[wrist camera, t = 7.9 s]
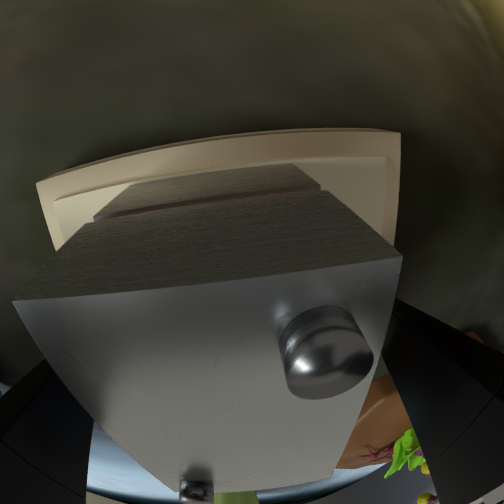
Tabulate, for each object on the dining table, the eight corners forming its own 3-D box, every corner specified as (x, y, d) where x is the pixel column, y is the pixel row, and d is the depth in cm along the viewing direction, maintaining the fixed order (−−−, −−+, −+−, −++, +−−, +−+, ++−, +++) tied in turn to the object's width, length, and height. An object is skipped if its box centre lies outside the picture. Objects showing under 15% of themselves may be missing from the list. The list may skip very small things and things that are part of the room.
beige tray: (61, 170, 10) (31, 185, 8) (374, 128, 10) (405, 134, 8) (126, 350, 14) (116, 381, 12) (359, 322, 15) (375, 351, 13)
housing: (183, 365, 12) (174, 506, 6) (129, 185, 8) (-10, 328, 2) (296, 353, 12) (333, 492, 6) (291, 163, 8) (431, 284, 2)
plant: (272, 447, 22) (289, 551, 12) (448, 301, 16) (541, 424, 6) (385, 453, 28) (407, 516, 18) (498, 360, 22) (541, 423, 12)
